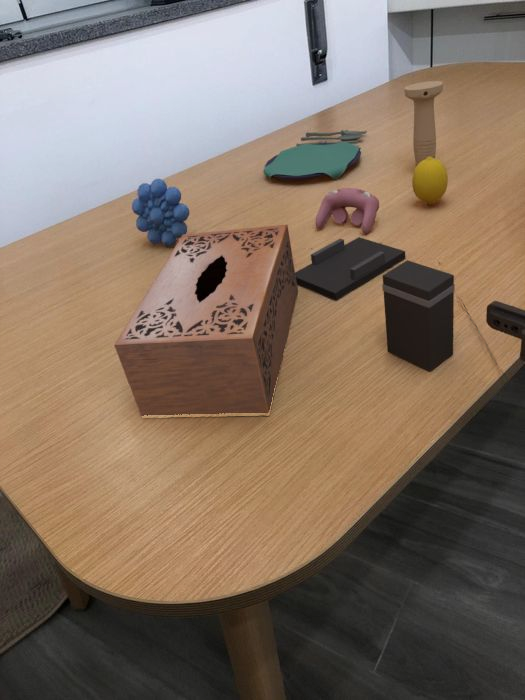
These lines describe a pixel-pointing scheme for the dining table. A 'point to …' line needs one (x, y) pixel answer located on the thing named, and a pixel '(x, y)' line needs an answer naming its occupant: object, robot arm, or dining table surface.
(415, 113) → the handle
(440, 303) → the upright box
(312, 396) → the dining table surface
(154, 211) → the grapes
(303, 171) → the cutlery set
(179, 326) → the tissue box cover
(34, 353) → the dining table surface
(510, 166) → the dining table surface
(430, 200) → the lemon
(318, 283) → the base pad
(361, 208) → the video game controller
